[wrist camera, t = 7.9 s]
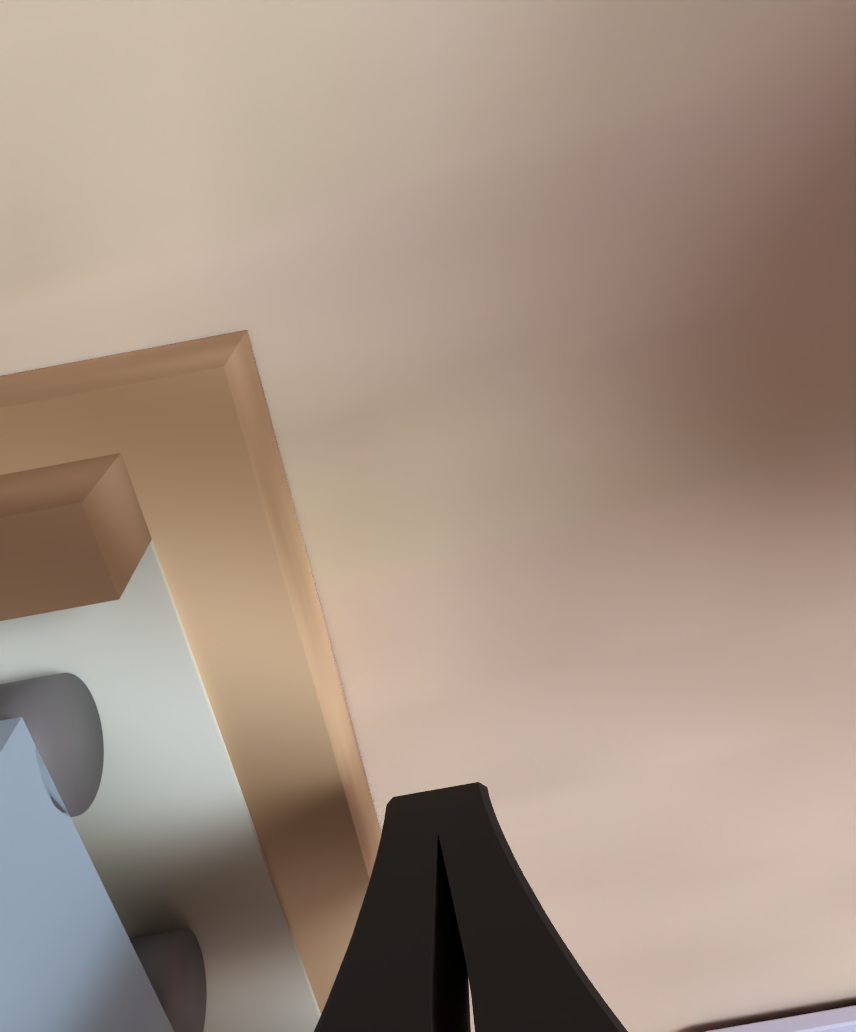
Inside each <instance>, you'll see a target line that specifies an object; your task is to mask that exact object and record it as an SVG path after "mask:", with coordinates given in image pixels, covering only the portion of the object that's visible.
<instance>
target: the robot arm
mask: <svg viewBox="0 0 856 1032" xmlns="http://www.w3.org/2000/svg"><path fill="white" fill-rule="evenodd" d="M468 977H469V983H470V989H471V996H472V1005H473V1015H474V1025H475V1032H628V1031H627V1030H626V1029H625V1028H624V1026H623V1025H622V1024H621V1022H620V1021H619V1020H618V1018H617V1017H616V1016H615V1014H614V1013H613V1012H612V1010H611V1009H610V1008H609V1006H608V1005H607V1004H606V1002H605V1001H604V1000H603V998H602V997H601V996H600V994H599V993H598V991H597V990H596V989H595V987H594V986H593V984H592V983H591V982H590V980H589V979H588V977H587V976H586V974H585V973H584V971H583V970H582V969H581V967H580V966H579V964H578V963H577V961H576V960H575V958H574V957H573V955H572V954H571V952H570V951H569V949H568V948H567V946H566V945H565V943H564V942H563V940H562V939H561V937H560V935H559V934H558V932H557V931H556V929H555V927H554V926H553V924H552V923H551V921H550V919H549V918H548V916H547V915H546V913H545V911H544V910H543V908H542V906H541V904H540V903H539V901H538V899H537V897H536V896H535V894H534V892H533V890H532V889H531V887H530V885H529V883H528V882H527V880H526V878H525V876H524V875H523V873H522V871H521V869H520V867H519V865H518V863H517V861H516V859H515V857H514V855H513V853H512V851H511V849H510V847H509V845H508V843H507V841H506V839H505V837H504V834H503V832H502V830H501V827H500V825H499V823H498V820H497V818H496V815H495V813H494V810H493V807H492V804H491V801H490V797H489V793H488V789H487V787H486V786H484V785H482V784H481V783H479V782H476V783H471V784H465V785H459V786H454V787H448V788H442V789H437V790H431V791H425V792H420V793H414V794H408V795H403V796H397V797H393V798H392V799H391V800H390V801H389V803H388V804H387V806H386V813H385V819H384V825H383V829H382V834H381V839H380V843H379V847H378V851H377V855H376V859H375V863H374V866H373V870H372V874H371V877H370V881H369V884H368V888H367V891H366V894H365V897H364V900H363V903H362V906H361V909H360V912H359V916H358V919H357V922H356V925H355V928H354V931H353V934H352V937H351V940H350V942H349V945H348V948H347V951H346V953H345V956H344V958H343V961H342V963H341V966H340V969H339V971H338V974H337V976H336V979H335V981H334V984H333V987H332V989H331V992H330V994H329V997H328V1000H327V1002H326V1004H325V1007H324V1009H323V1011H322V1014H321V1016H320V1018H319V1021H318V1023H317V1025H316V1028H315V1030H314V1032H471V1030H470V1006H469V983H468ZM705 1032H856V1005H854V1006H848V1007H843V1008H837V1009H831V1010H825V1011H820V1012H814V1013H808V1014H802V1015H797V1016H791V1017H785V1018H779V1019H773V1020H768V1021H762V1022H756V1023H750V1024H745V1025H739V1026H733V1027H727V1028H722V1029H716V1030H710V1031H705Z"/></svg>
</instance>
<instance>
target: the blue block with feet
mask: <svg viewBox="0 0 856 1032" xmlns="http://www.w3.org/2000/svg"><path fill="white" fill-rule="evenodd" d="M103 760H104V743H103V732H102V726H101V721H100V716H99V713H98V709H97V706H96V704H95V701H94V699H93V696H92V694H91V692H90V691H89V689H88V687H87V686H86V685H85V683H84V682H83V681H82V680H81V679H80V678H79V677H77V676H76V675H74V674H71V673H60V674H54V675H49V676H43V677H38V678H32V679H27V680H21V681H16V682H10V683H5V684H0V1032H203V1030H204V1024H205V1016H206V1000H207V988H206V973H205V966H204V960H203V955H202V951H201V948H200V945H199V942H198V940H197V938H196V936H195V934H194V933H193V932H192V931H191V930H189V929H187V928H185V929H180V930H174V931H168V932H163V933H157V934H151V935H146V936H140V937H134V938H129V937H128V935H127V933H126V931H125V929H124V927H123V925H122V923H121V921H120V919H119V917H118V915H117V913H116V910H115V908H114V906H113V904H112V902H111V900H110V898H109V896H108V894H107V892H106V890H105V888H104V886H103V884H102V882H101V879H100V877H99V875H98V873H97V871H96V869H95V867H94V865H93V863H92V861H91V859H90V857H89V855H88V853H87V851H86V848H85V846H84V844H83V842H82V840H81V838H80V836H79V834H78V832H77V830H76V828H75V826H74V824H73V822H72V820H71V817H75V816H79V815H81V814H83V813H84V812H85V811H87V809H88V808H89V807H90V806H91V804H92V803H93V801H94V799H95V797H96V795H97V792H98V789H99V786H100V782H101V777H102V771H103Z"/></svg>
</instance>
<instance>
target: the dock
mask: <svg viewBox="0 0 856 1032" xmlns="http://www.w3.org/2000/svg"><path fill="white" fill-rule="evenodd" d="M60 673H71V674H74V675H76V676H77V677H79V678H80V679H81V680H82V681H83V682H84V683H85V685H86V686H87V687H88V689H89V691H90V692H91V694H92V696H93V699H94V701H95V704H96V706H97V709H98V713H99V716H100V721H101V726H102V732H103V743H104V760H103V771H102V777H101V782H100V786H99V789H98V792H97V795H96V797H95V799H94V801H93V803H92V804H91V806H90V807H89V808H88V809H87V811H85V812H84V813H83V814H81V815H79V816H75V817H71V820H72V822H73V824H74V826H75V828H76V830H77V832H78V834H79V836H80V838H81V840H82V842H83V844H84V846H85V848H86V851H87V853H88V855H89V857H90V859H91V861H92V863H93V865H94V867H95V869H96V871H97V873H98V875H99V877H100V879H101V882H102V884H103V886H104V888H105V890H106V892H107V894H108V896H109V898H110V900H111V902H112V904H113V906H114V908H115V910H116V913H117V915H118V917H119V919H120V921H121V923H122V925H123V927H124V929H125V931H126V933H127V935H128V937H129V938H134V937H140V936H146V935H151V934H157V933H163V932H168V931H174V930H180V929H185V928H187V929H189V930H191V931H192V932H193V933H194V934H195V936H196V938H197V940H198V942H199V945H200V948H201V951H202V955H203V960H204V966H205V973H206V988H207V1000H206V1016H205V1024H204V1030H203V1032H314V1030H315V1028H316V1025H317V1023H318V1021H319V1018H320V1016H321V1014H322V1011H323V1009H324V1007H325V1004H326V1002H327V1000H328V997H329V994H330V992H331V989H332V987H333V984H334V981H335V979H336V976H337V974H338V971H339V969H340V966H341V963H342V961H343V958H344V956H345V953H346V951H347V948H348V945H349V942H350V940H351V937H352V934H353V931H354V928H355V925H356V922H357V919H358V916H359V912H360V909H361V906H362V903H363V900H364V897H365V894H366V891H367V888H368V884H369V881H370V877H371V874H372V870H373V866H374V863H375V859H376V855H377V851H378V847H379V843H380V839H381V831H380V827H379V823H378V820H377V816H376V812H375V808H374V805H373V801H372V797H371V793H370V789H369V786H368V782H367V778H366V774H365V771H364V767H363V763H362V759H361V756H360V752H359V748H358V744H357V741H356V737H355V733H354V729H353V726H352V722H351V718H350V714H349V711H348V707H347V703H346V699H345V696H344V692H343V688H342V684H341V681H340V677H339V673H338V669H337V666H336V662H335V658H334V654H333V651H332V647H331V643H330V639H329V636H328V632H327V628H326V624H325V621H324V617H323V613H322V609H321V606H320V602H319V598H318V594H317V591H316V587H315V583H314V579H313V576H312V572H311V568H310V564H309V561H308V557H307V553H306V549H305V546H304V542H303V538H302V534H301V531H300V527H299V523H298V519H297V516H296V512H295V508H294V504H293V501H292V497H291V493H290V489H289V486H288V482H287V478H286V474H285V471H284V467H283V463H282V459H281V456H280V452H279V448H278V444H277V441H276V437H275V433H274V429H273V426H272V422H271V418H270V414H269V411H268V407H267V403H266V399H265V396H264V392H263V388H262V384H261V381H260V377H259V373H258V369H257V366H256V362H255V358H254V354H253V351H252V347H251V343H250V339H249V335H248V332H247V330H244V331H239V332H234V333H228V334H223V335H218V336H212V337H207V338H202V339H196V340H191V341H186V342H180V343H175V344H169V345H164V346H159V347H153V348H148V349H143V350H137V351H132V352H127V353H121V354H116V355H111V356H105V357H100V358H95V359H89V360H84V361H78V362H73V363H68V364H62V365H57V366H52V367H46V368H41V369H36V370H30V371H25V372H20V373H14V374H9V375H4V376H0V684H5V683H10V682H16V681H21V680H27V679H32V678H38V677H43V676H49V675H54V674H60Z"/></svg>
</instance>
